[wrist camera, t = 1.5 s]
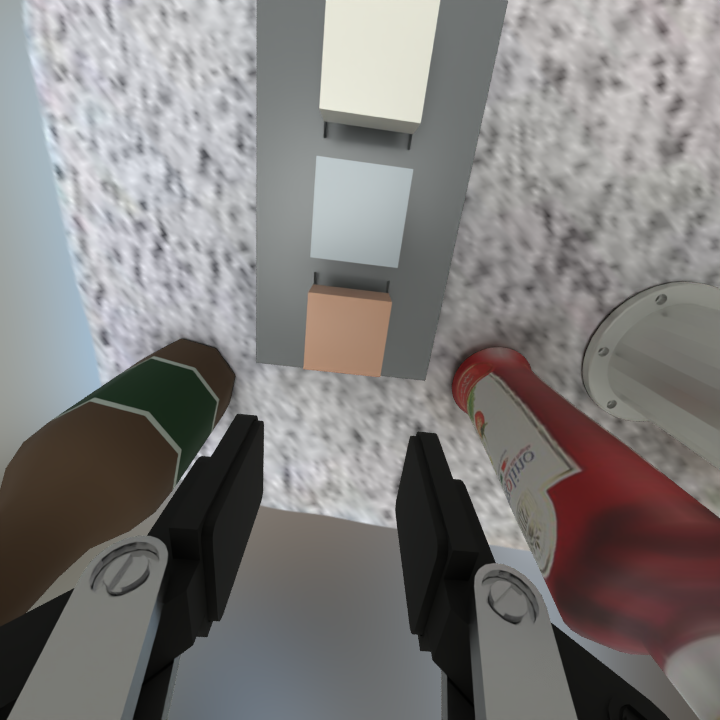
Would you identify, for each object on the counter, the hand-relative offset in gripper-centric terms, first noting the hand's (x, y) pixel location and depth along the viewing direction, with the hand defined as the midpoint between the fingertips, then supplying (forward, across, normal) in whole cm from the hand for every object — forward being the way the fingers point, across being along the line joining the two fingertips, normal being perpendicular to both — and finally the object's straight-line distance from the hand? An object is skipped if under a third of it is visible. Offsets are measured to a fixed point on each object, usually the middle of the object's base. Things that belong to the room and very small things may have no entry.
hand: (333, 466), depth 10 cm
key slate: (+16, 0, -7) cm, 18 cm away
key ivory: (+16, 0, -14) cm, 22 cm away
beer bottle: (+20, +13, +8) cm, 25 cm away
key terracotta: (+16, 0, 0) cm, 16 cm away
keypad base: (+19, 0, -7) cm, 21 cm away
